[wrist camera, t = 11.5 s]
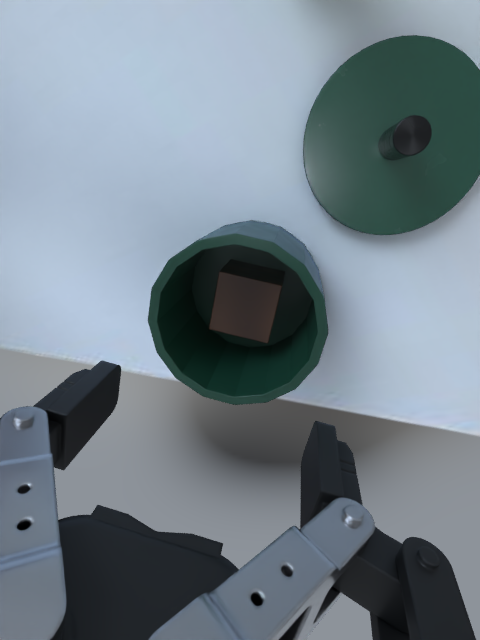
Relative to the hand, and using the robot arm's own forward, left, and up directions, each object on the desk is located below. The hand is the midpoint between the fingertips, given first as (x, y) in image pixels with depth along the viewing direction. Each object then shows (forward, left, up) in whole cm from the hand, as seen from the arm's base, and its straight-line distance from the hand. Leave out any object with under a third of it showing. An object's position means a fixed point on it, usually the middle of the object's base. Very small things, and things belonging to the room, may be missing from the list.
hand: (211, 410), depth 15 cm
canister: (-1, -1, -21) cm, 21 cm away
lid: (+7, +13, -20) cm, 25 cm away
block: (-1, -1, -20) cm, 20 cm away
